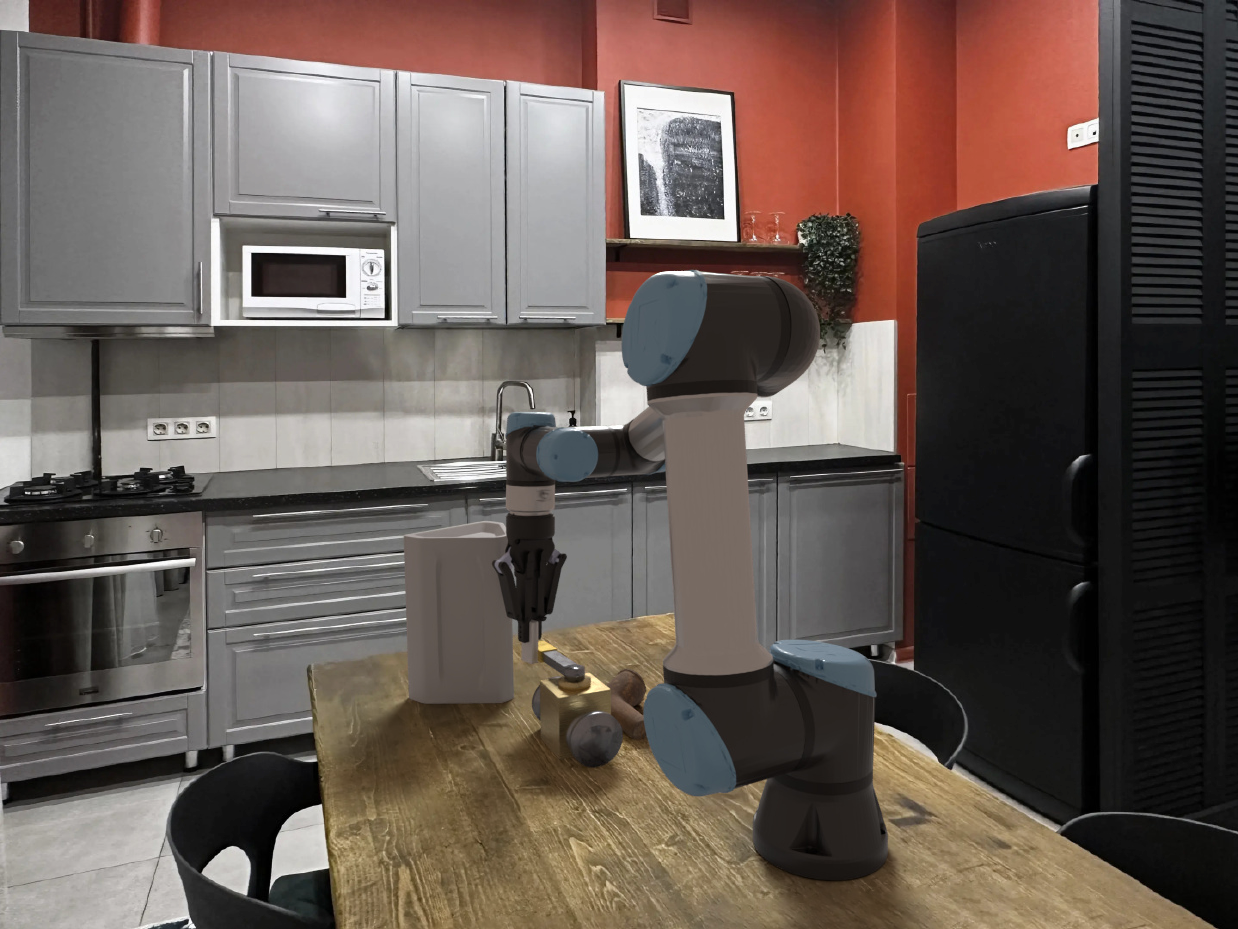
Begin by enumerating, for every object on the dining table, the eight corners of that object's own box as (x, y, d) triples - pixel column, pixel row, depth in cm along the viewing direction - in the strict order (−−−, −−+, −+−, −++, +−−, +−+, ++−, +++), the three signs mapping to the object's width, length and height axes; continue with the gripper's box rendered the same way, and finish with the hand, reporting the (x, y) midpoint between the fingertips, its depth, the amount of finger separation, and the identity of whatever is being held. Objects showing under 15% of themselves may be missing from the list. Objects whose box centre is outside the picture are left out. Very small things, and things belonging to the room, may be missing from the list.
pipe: (629, 715, 127) (684, 691, 132) (574, 681, 141) (626, 661, 146) (635, 755, 128) (689, 730, 133) (580, 717, 142) (631, 696, 147)
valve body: (624, 761, 122) (623, 694, 121) (571, 772, 118) (570, 703, 118) (579, 719, 137) (578, 659, 136) (531, 728, 134) (529, 666, 133)
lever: (588, 679, 126) (588, 667, 126) (569, 683, 125) (569, 671, 125) (544, 651, 140) (544, 640, 140) (527, 654, 138) (527, 643, 138)
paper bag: (465, 718, 138) (460, 545, 136) (406, 697, 147) (401, 535, 145) (547, 684, 153) (544, 528, 150) (489, 668, 162) (485, 520, 160)
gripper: (510, 518, 127) (509, 675, 128) (578, 511, 135) (576, 659, 137) (481, 512, 132) (481, 663, 134) (549, 506, 141) (548, 648, 143)
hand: (529, 661), depth 136 cm, fingers closed
